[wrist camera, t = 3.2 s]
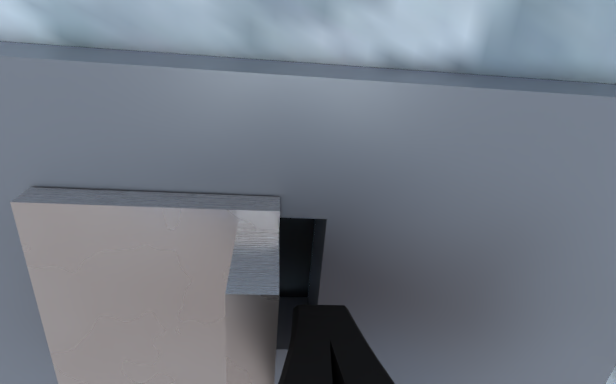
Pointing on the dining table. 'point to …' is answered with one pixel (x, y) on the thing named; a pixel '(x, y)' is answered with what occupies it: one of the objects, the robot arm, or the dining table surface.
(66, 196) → the panel
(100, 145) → the socket plate
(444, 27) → the dining table surface
